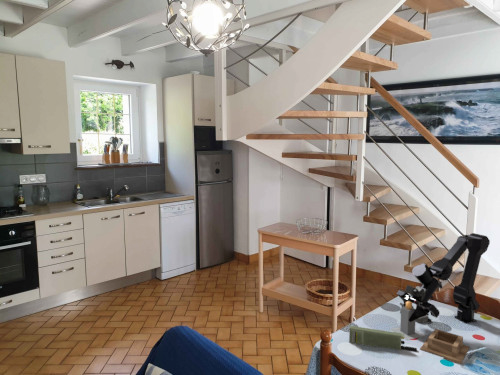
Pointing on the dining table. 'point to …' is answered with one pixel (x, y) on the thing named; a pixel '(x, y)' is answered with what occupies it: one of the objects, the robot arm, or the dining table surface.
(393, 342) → the handheld radio
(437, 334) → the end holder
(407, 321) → the connector plug
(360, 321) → the dining table surface
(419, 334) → the mat
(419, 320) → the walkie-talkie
